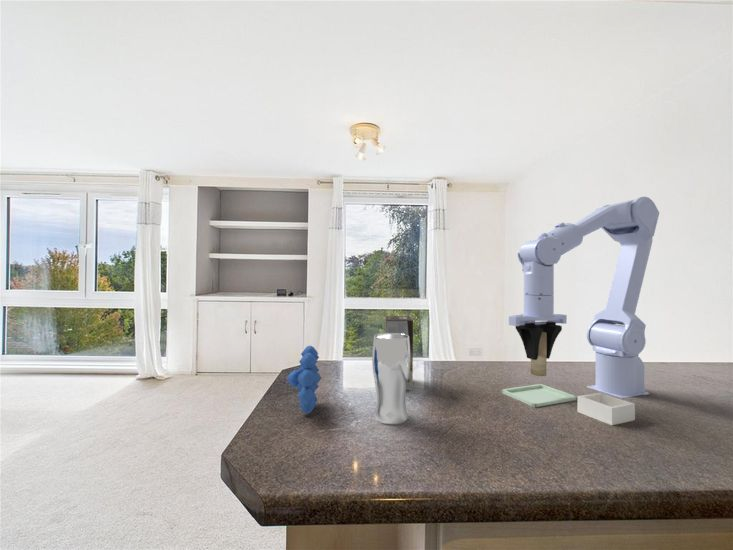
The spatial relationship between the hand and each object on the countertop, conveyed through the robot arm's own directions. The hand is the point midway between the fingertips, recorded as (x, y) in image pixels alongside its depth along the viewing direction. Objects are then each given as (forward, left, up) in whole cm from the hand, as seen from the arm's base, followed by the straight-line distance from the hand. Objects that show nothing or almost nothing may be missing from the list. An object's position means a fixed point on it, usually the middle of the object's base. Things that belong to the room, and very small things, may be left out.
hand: (538, 358), depth 71 cm
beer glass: (+34, -2, -9) cm, 35 cm away
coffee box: (+24, -19, -9) cm, 32 cm away
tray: (0, 0, -9) cm, 9 cm away
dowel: (0, 0, -3) cm, 3 cm away
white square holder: (-3, +12, -9) cm, 15 cm away
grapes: (+48, -11, -9) cm, 50 cm away
